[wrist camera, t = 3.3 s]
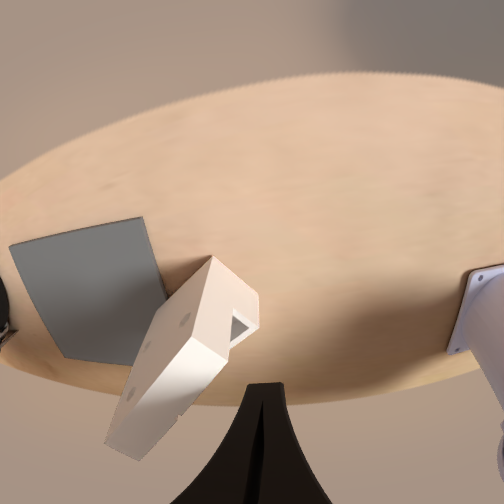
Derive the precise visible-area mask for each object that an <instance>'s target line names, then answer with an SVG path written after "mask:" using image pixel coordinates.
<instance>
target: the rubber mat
mask: <svg viewBox="0 0 504 504" xmlns="http://www.w3.org/2000/svg"><path fill="white" fill-rule="evenodd" d="M9 250H10V253H11V255H12V258H13V260H14V263H15V265H16V267H17V270H18V272H19V274H20V277H21V279H22V281H23V283H24V285H25V287H26V290H27V292H28V294H29V296H30V298H31V300H32V302H33V304H34V306H35V308H36V310H37V311H38V313H39V315H40V317H41V319H42V321H43V322H44V324H45V326H46V328H47V330H48V331H49V333H50V335H51V336H52V338H53V340H54V341H55V343H56V345H57V346H58V348H59V349H60V351H61V352H62V354H63V356H64V357H65V358H71V359H77V360H84V361H92V362H100V363H109V364H118V365H129V366H133V365H134V362H135V360H136V357H137V355H138V352H139V350H140V348H141V345H142V343H143V341H144V338H145V336H146V334H147V331H148V329H149V327H150V324H151V322H152V320H153V318H154V315H155V313H156V311H157V310H158V309H159V308H160V307H161V306H162V305H163V304H164V303H165V302H166V301H167V300H168V296H167V293H166V290H165V288H164V285H163V282H162V279H161V276H160V273H159V270H158V267H157V263H156V260H155V257H154V254H153V251H152V247H151V244H150V241H149V237H148V234H147V230H146V227H145V223H144V220H143V217H138V218H132V219H127V220H121V221H116V222H111V223H106V224H101V225H96V226H91V227H87V228H82V229H77V230H73V231H68V232H63V233H59V234H55V235H50V236H46V237H42V238H38V239H34V240H30V241H26V242H22V243H18V244H14V245H11V246H9Z"/></svg>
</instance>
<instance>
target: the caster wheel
mask: <svg viewBox="0 0 504 504" xmlns="http://www.w3.org/2000/svg"><path fill="white" fill-rule="evenodd" d="M7 319H8V302H7V296H6V292H5V289H4V286H3V283H2V281H1V278H0V348H2V347H3V346H4V345H5V344H6V343H7V342H8V341H9V340H10V339H11V338H12V337H13V336H14V335H15V334H16V333H17V332H18V331H19V330H18V331H16V332H15V333H14V334H12V335H11V336H10V337H8V338H7V339H6V340H4V341H3V342H1V341H2V340H3V339H4V338H5V337H6V333H7V331H8V326H9V324H8V322H7ZM0 351H1V349H0Z"/></svg>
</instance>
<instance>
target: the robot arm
mask: <svg viewBox="0 0 504 504" xmlns="http://www.w3.org/2000/svg"><path fill="white" fill-rule="evenodd" d="M479 276H480V277H479ZM469 349H470V350H471V352H472V353H473V355H474V357H475V358H476V360H477V362H478V363H479V365H480V367H481V369H482V370H483V372H484V374H485V376H486V377H487V379H488V381H489V383H490V385H491V387H492V389H493V391H494V393H495V395H496V397H497V399H498V401H499V403H500V404H501V407H502V409H503V411H504V265H499V266H494V267H489V268H484V269H479V270H475V271H473V272H471V274H470V275H469V278H468V282H467V286H466V290H465V294H464V298H463V301H462V305H461V308H460V312H459V315H458V318H457V321H456V325H455V328H454V331H453V334H452V336H451V339H450V342H449V345H448V348H447V353H448V355H453V354H456V353H460V352H463V351H466V350H469ZM500 425H501V428H502V430H503V433H504V421H503V422H502V423H501V424H500ZM497 461H498V469H499V472H500V476H501V477H502V480H503V482H504V435H503V436H502V438H501V440H500V443H499V446H498V454H497ZM170 504H332V502H331V501H330V499H329V498H328V496H327V495H326V493H325V492H324V490H323V489H322V487H321V485H320V484H319V482H318V481H317V479H316V477H315V475H314V474H313V472H312V470H311V468H310V466H309V464H308V462H307V460H306V458H305V456H304V454H303V452H302V450H301V447H300V445H299V443H298V440H297V438H296V435H295V433H294V430H293V427H292V424H291V421H290V418H289V415H288V411H287V407H286V400H285V392H284V384H283V383H281V382H276V383H257V384H249V385H247V388H246V392H245V394H244V397H243V400H242V403H241V405H240V407H239V410H238V412H237V414H236V416H235V418H234V420H233V423H232V424H231V426H230V429H229V430H228V433H227V434H226V436H225V437H224V439H223V441H222V442H221V444H220V446H219V447H218V449H217V450H216V452H215V453H214V455H213V456H212V458H211V459H210V461H209V462H208V463H207V465H206V466H205V467H204V469H203V470H202V471H201V472H200V473H199V475H198V476H197V477H196V478H195V479H194V481H193V482H192V483H191V484H190V485H189V486H188V487H187V488H186V489H185V490H184V491H183V492H182V493H181V494H180V495H179V496H178V497H177V498H176V499H175V500H173V502H171V503H170Z"/></svg>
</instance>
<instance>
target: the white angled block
mask: <svg viewBox="0 0 504 504" xmlns="http://www.w3.org/2000/svg"><path fill="white" fill-rule="evenodd" d="M257 329H259V297H258V293H256V292H255V291H254V290H253V289H252V288H251V287H249V286H248V285H247V284H246V283H245V282H243V281H242V280H241V279H240V278H239V277H238V276H236V275H235V274H234V273H233V272H232V271H231V270H229V269H228V268H227V267H226V266H225V265H224V264H222V263H221V262H220V261H219V260H218V259H217V258H215V257H214V256H212V257H211V258H210V259H209V260H208V261H207V262H206V263H205V264H204V265H203V266H202V267H201V268H200V269H199V270H198V271H196V272H195V273H194V274H193V275H192V276H191V277H190V278H189V279H188V280H187V281H186V282H185V283H184V284H183V285H182V286H181V287H180V288H179V289H178V290H177V291H176V292H175V293H174V294H173V295H172V296H171V297H170V298H169V299H168V300H167V301H166V302H165V303H164V304H163V305H162V306H161V307H160V308H159V309H158V310H157V311H156V313H155V315H154V318H153V320H152V322H151V324H150V327H149V329H148V331H147V334H146V336H145V338H144V341H143V343H142V345H141V348H140V350H139V352H138V355H137V357H136V360H135V362H134V365H133V367H132V370H131V372H130V375H129V377H128V380H127V382H126V385H125V387H124V390H123V392H122V395H121V398H120V401H119V403H118V406H117V408H116V411H115V414H114V417H113V420H112V422H111V425H110V428H109V431H108V433H107V436H106V439H105V442H104V444H106V445H107V446H109V447H111V448H113V449H115V450H117V451H119V452H121V453H123V454H125V455H127V456H129V457H131V458H133V459H135V460H137V461H140V460H141V459H142V458H143V457H144V456H145V455H146V454H147V453H148V452H149V451H150V450H151V449H152V448H153V446H154V445H155V444H156V443H157V442H158V441H159V440H160V439H161V438H162V437H163V436H164V435H165V433H166V432H167V431H168V430H169V429H170V428H171V427H172V426H173V425H174V424H175V422H176V421H177V418H178V414H179V415H181V416H182V415H183V414H184V412H185V411H186V410H187V409H188V408H189V407H190V406H191V404H192V403H193V402H194V401H195V400H196V399H197V398H198V396H199V395H200V394H201V393H202V392H203V391H204V389H205V388H206V387H207V386H208V385H209V384H210V382H211V381H212V380H213V379H214V378H215V376H216V375H217V374H218V373H219V372H220V370H221V369H222V368H223V367H224V366H225V364H226V363H227V362H228V357H229V349H231V348H232V347H234V346H235V345H237V344H238V343H239V342H241V341H242V340H244V339H245V338H246V337H248V336H249V335H250V334H252V333H253V332H255V331H256V330H257Z"/></svg>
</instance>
